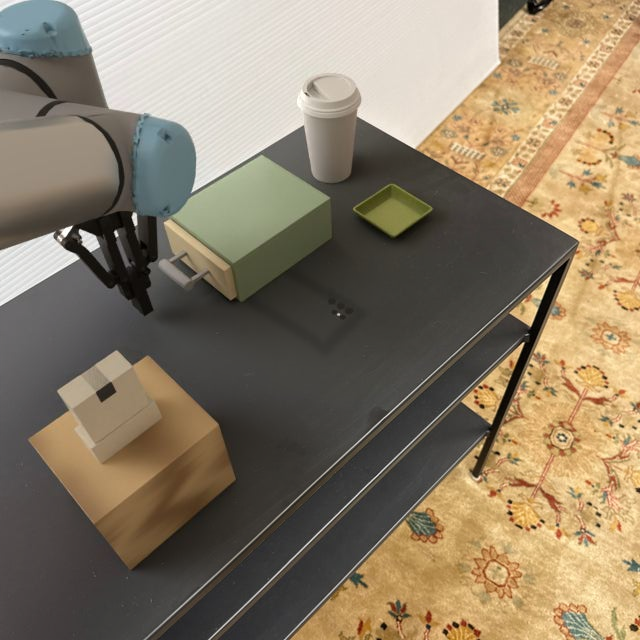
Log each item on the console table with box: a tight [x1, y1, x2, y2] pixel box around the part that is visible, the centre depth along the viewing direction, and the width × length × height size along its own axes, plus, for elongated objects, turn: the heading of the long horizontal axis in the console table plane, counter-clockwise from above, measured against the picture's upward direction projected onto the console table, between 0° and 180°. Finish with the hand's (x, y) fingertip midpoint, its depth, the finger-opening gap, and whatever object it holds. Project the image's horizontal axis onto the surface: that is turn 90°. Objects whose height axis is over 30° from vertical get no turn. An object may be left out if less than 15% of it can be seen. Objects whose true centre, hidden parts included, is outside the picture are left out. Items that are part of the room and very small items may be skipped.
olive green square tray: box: [352, 183, 434, 239], centre depth 97 cm, size 9×9×2 cm
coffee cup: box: [296, 72, 363, 184], centre depth 100 cm, size 10×10×15 cm
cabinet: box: [167, 154, 333, 303], centre depth 92 cm, size 18×15×8 cm
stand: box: [28, 355, 237, 571], centre depth 67 cm, size 14×12×12 cm
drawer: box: [157, 218, 237, 301], centre depth 91 cm, size 21×13×6 cm, turn 134°
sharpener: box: [56, 349, 162, 464], centre depth 59 cm, size 7×3×9 cm, turn 134°
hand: (143, 307), depth 85 cm, fingers closed
